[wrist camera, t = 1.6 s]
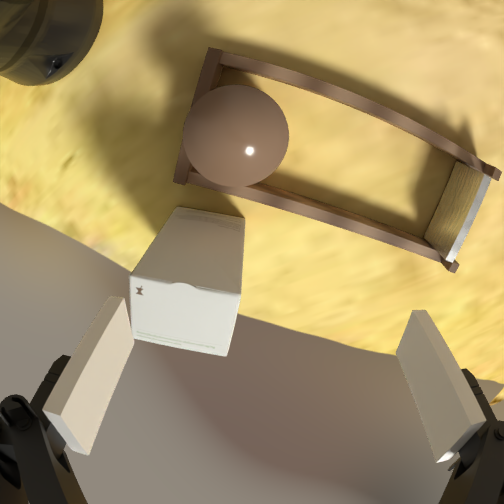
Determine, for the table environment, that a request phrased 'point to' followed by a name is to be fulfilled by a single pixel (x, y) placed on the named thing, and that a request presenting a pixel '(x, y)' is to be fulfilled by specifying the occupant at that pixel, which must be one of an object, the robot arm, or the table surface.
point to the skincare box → (190, 282)
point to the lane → (306, 205)
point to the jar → (235, 135)
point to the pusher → (457, 210)
